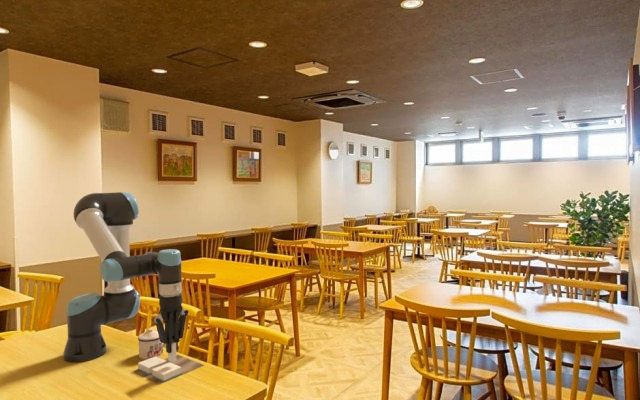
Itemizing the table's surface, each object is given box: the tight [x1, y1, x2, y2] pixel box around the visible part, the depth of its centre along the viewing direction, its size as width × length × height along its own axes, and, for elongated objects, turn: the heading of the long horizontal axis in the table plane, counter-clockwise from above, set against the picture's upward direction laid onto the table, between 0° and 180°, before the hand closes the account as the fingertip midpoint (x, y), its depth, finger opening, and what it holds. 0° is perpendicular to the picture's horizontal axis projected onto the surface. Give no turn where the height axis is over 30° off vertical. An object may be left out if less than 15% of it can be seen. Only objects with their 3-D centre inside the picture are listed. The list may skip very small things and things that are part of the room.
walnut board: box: [133, 353, 205, 385], centre depth 152 cm, size 17×18×2 cm
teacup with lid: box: [137, 327, 166, 360], centre depth 166 cm, size 12×9×12 cm
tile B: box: [152, 362, 182, 383], centre depth 147 cm, size 7×2×7 cm
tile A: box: [137, 356, 167, 375], centre depth 152 cm, size 7×2×7 cm
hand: (172, 360), depth 148 cm, fingers closed
